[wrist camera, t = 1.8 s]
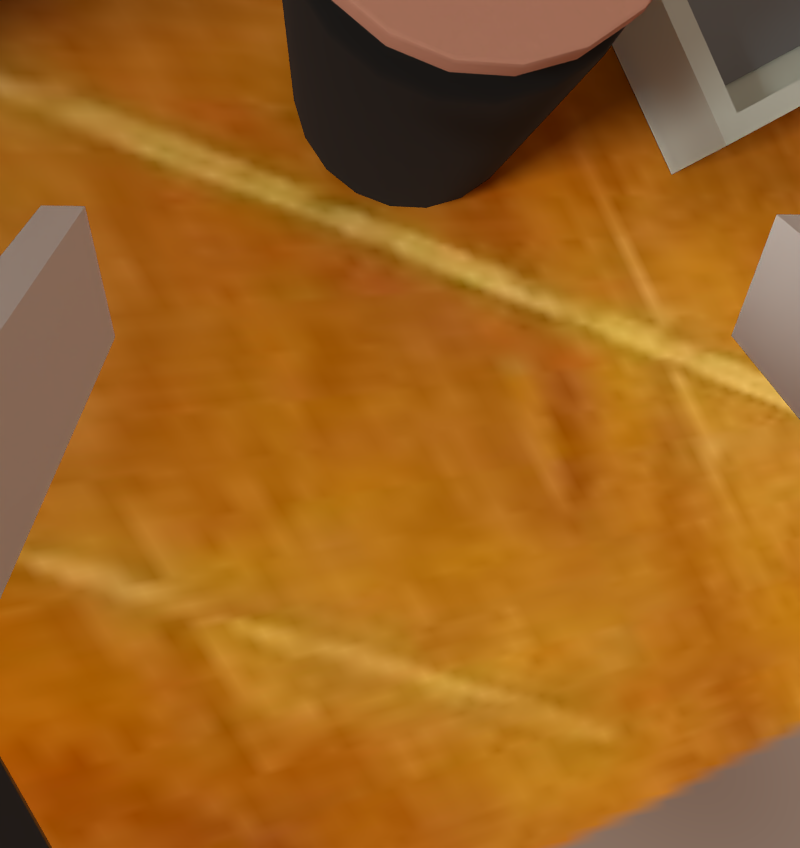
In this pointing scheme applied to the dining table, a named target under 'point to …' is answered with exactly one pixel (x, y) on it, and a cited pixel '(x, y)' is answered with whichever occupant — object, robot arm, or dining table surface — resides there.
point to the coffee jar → (436, 84)
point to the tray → (711, 70)
